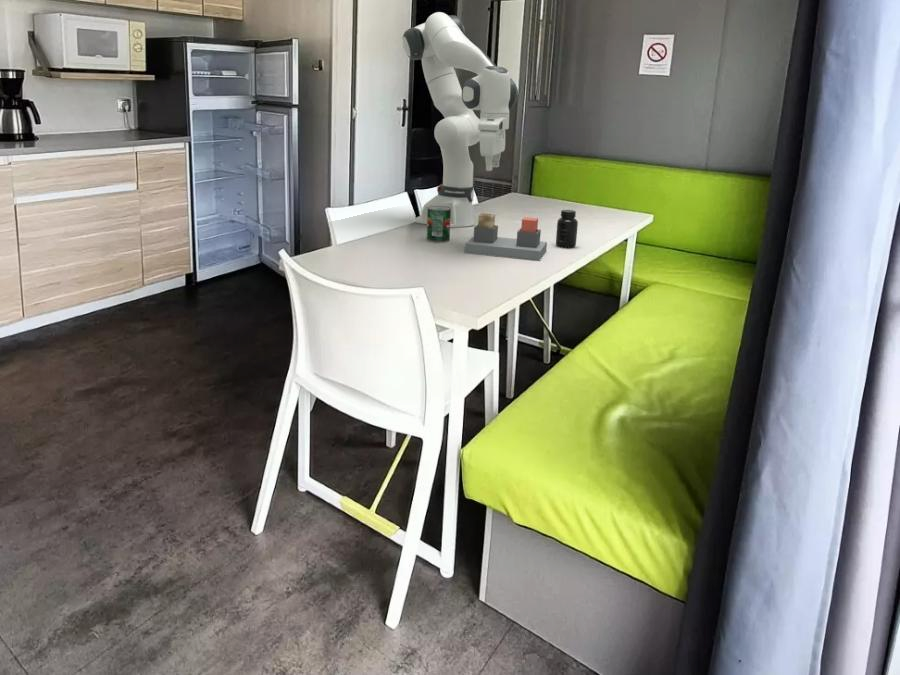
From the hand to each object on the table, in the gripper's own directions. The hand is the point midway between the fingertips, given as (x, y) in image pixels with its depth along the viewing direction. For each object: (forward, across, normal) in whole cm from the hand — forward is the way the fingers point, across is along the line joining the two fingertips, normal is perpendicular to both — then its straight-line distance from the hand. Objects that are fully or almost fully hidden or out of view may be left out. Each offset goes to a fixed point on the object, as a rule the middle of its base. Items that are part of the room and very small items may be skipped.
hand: (492, 168), depth 224 cm
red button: (+19, +1, +13) cm, 23 cm away
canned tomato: (+26, -6, -19) cm, 33 cm away
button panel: (+26, +1, +6) cm, 26 cm away
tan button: (+18, +1, -1) cm, 18 cm away
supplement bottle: (+26, -16, +23) cm, 38 cm away
